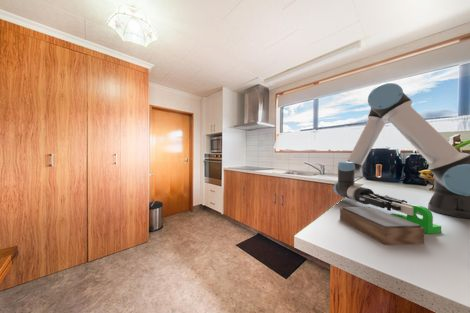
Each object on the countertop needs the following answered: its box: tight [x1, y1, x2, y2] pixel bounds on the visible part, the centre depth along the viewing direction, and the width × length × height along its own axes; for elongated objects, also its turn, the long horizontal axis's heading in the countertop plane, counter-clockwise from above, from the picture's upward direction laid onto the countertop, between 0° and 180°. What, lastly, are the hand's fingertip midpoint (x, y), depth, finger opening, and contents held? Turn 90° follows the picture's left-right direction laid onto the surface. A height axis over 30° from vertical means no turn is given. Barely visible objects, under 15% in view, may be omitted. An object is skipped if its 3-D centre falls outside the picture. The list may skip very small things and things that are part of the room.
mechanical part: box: [390, 205, 442, 235], centre depth 59 cm, size 12×6×8 cm, turn 13°
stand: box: [339, 206, 425, 246], centre depth 55 cm, size 12×18×5 cm, turn 4°
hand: (417, 211), depth 56 cm, fingers open, 3 cm apart
